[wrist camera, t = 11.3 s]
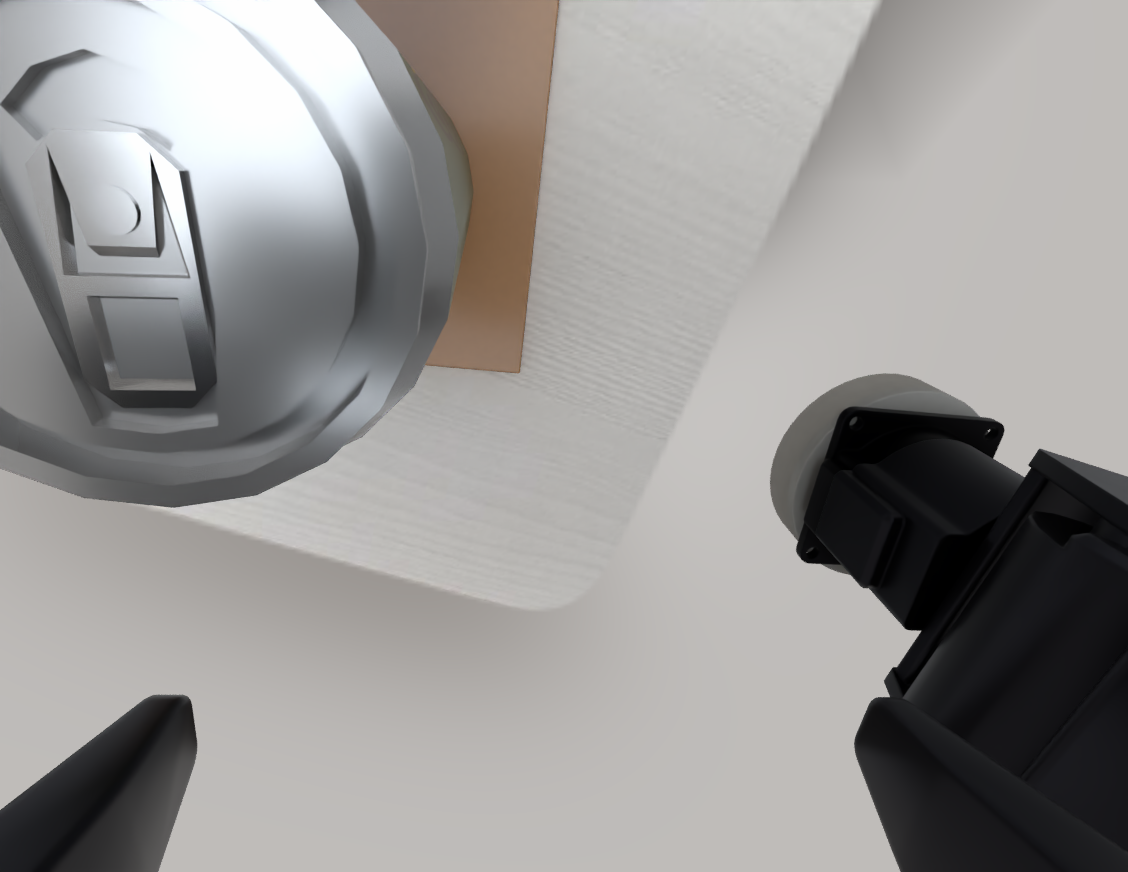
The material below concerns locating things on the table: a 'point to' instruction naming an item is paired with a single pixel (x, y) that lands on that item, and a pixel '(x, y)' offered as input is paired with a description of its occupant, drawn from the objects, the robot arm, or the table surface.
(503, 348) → the cork mat
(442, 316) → the green drink can
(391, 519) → the table surface
